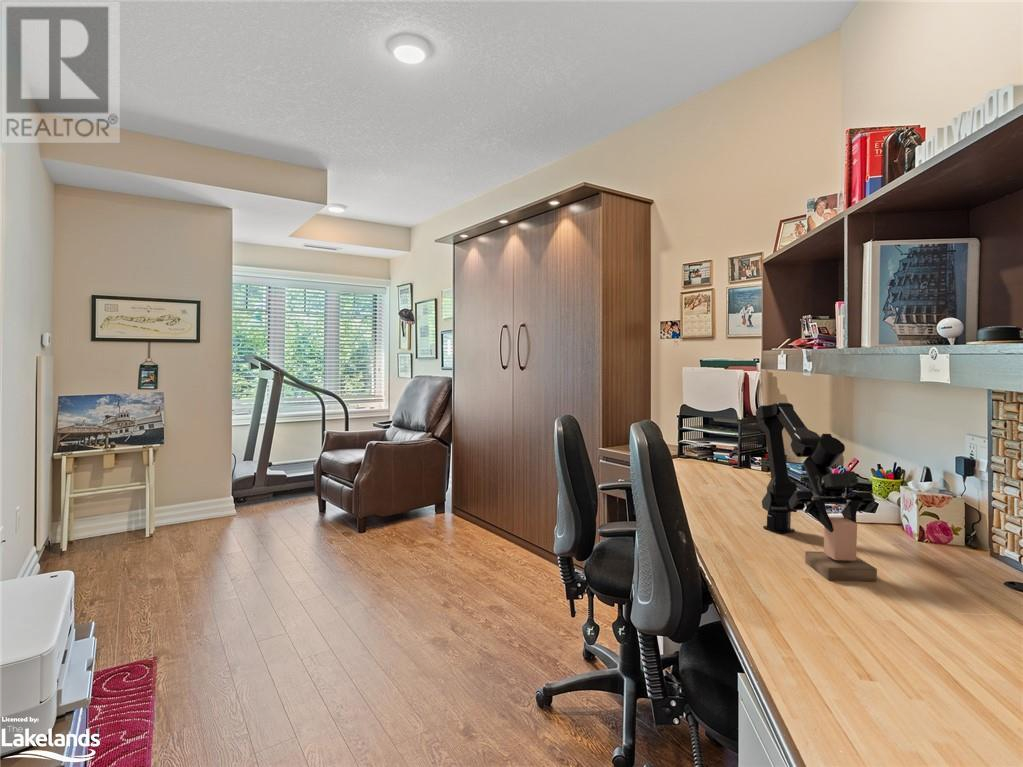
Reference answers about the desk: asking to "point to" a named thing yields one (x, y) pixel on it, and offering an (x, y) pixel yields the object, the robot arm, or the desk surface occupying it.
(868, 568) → the walnut plinth
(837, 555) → the terracotta block
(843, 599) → the desk surface
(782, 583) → the desk surface
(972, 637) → the desk surface
